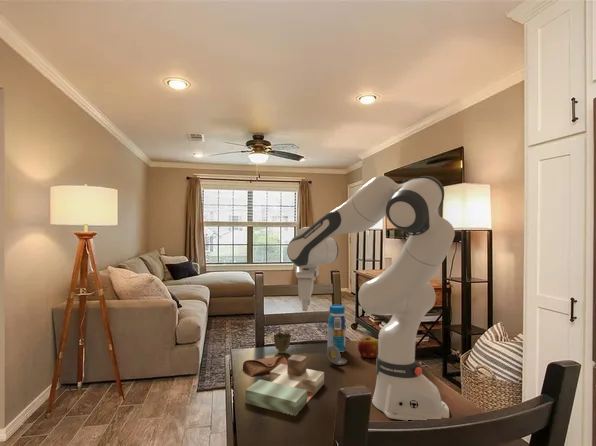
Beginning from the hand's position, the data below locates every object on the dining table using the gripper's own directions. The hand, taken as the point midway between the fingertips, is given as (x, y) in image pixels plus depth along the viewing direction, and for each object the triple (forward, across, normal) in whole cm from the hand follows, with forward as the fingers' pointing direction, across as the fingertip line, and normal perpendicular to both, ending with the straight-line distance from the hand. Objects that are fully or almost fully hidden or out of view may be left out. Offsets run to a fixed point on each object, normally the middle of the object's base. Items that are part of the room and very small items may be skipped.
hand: (306, 307), depth 128 cm
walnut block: (+21, +7, -2) cm, 22 cm away
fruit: (+26, -25, +26) cm, 44 cm away
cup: (+26, -22, -12) cm, 36 cm away
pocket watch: (+25, -14, +12) cm, 32 cm away
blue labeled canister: (+26, -30, +12) cm, 41 cm away
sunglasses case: (+26, -4, -14) cm, 30 cm away
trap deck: (+25, +14, -4) cm, 29 cm away
